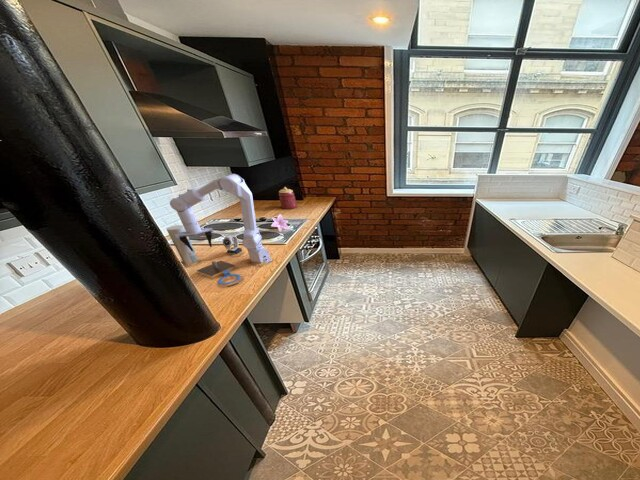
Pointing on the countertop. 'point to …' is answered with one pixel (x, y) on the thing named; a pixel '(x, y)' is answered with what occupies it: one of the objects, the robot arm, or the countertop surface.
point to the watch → (228, 243)
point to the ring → (227, 274)
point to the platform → (221, 268)
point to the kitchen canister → (287, 198)
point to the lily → (280, 223)
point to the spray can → (182, 245)
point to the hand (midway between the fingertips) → (201, 248)
